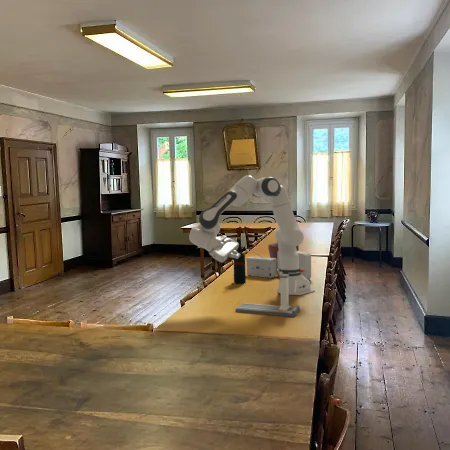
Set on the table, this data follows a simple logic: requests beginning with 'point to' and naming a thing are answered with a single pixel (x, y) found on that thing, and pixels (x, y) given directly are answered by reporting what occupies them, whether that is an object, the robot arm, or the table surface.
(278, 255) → the rounded white slab
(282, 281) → the fader tab
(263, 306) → the board
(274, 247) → the bucket
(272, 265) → the stereo radio cassette player
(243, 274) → the wine bottle
